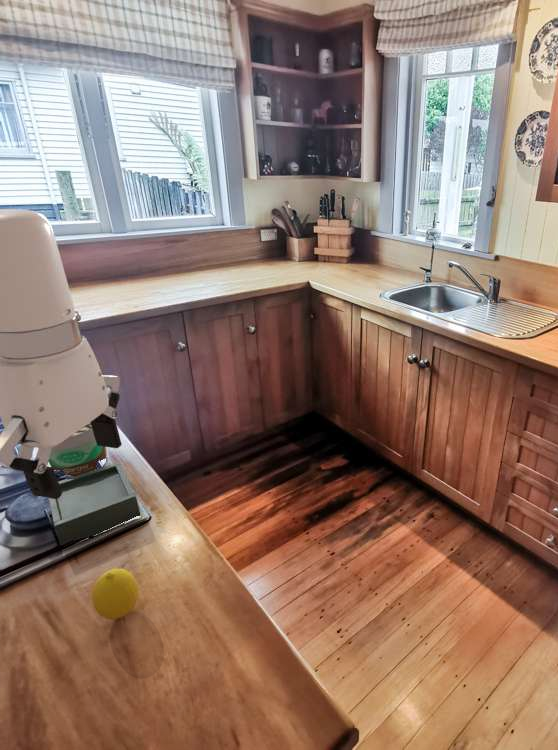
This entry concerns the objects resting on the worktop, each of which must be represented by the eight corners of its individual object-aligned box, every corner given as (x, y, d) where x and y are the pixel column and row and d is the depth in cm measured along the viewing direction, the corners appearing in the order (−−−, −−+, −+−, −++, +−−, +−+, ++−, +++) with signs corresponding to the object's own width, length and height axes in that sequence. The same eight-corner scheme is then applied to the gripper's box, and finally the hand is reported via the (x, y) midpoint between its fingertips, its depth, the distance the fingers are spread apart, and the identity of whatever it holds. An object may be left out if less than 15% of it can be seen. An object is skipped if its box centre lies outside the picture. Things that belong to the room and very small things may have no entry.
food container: (48, 492, 87) (32, 448, 83) (45, 474, 92) (30, 432, 87) (120, 469, 94) (109, 427, 90) (114, 454, 98) (103, 413, 94)
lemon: (127, 590, 69) (116, 551, 66) (151, 608, 67) (141, 568, 63) (91, 618, 65) (76, 578, 61) (115, 639, 62) (101, 598, 59)
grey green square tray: (62, 549, 76) (54, 526, 73) (53, 507, 84) (45, 485, 82) (141, 518, 82) (136, 496, 80) (125, 482, 91) (120, 461, 88)
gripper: (71, 307, 56) (104, 426, 64) (-79, 367, 41) (-12, 514, 49) (126, 313, 55) (153, 433, 63) (-8, 377, 40) (50, 525, 48)
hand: (81, 468), depth 56 cm, fingers open, 9 cm apart
